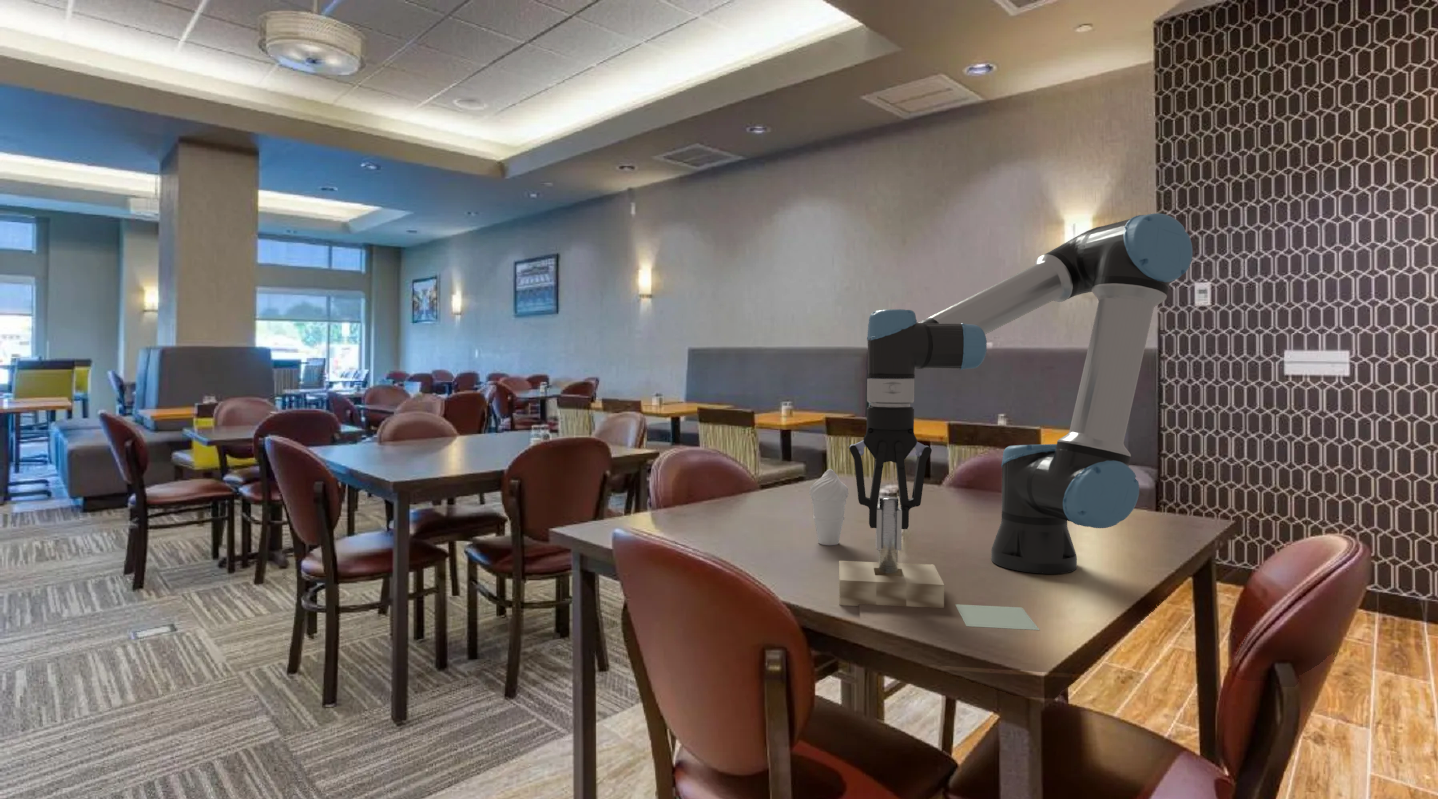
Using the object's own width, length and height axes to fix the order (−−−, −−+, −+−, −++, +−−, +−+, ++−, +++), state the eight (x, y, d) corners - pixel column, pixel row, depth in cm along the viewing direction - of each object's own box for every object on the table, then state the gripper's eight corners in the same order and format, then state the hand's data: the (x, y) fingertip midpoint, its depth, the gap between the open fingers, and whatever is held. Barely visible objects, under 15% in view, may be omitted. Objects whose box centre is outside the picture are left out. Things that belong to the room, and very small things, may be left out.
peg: (896, 568, 123) (897, 497, 122) (898, 573, 120) (899, 500, 120) (878, 568, 123) (879, 496, 123) (879, 573, 120) (880, 499, 120)
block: (933, 587, 127) (933, 564, 126) (943, 610, 115) (944, 584, 115) (838, 583, 129) (839, 560, 129) (839, 605, 117) (839, 580, 117)
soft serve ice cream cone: (838, 549, 153) (838, 472, 153) (802, 544, 158) (802, 469, 157) (854, 541, 160) (854, 468, 160) (819, 536, 165) (819, 465, 164)
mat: (1021, 610, 115) (1021, 607, 115) (1039, 632, 105) (1039, 629, 105) (955, 606, 116) (955, 604, 116) (966, 628, 107) (966, 626, 107)
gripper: (842, 405, 118) (840, 551, 119) (943, 406, 116) (940, 555, 117) (841, 403, 126) (840, 541, 126) (936, 404, 123) (934, 544, 124)
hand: (888, 547), depth 122 cm, fingers closed on peg, 2 cm apart
